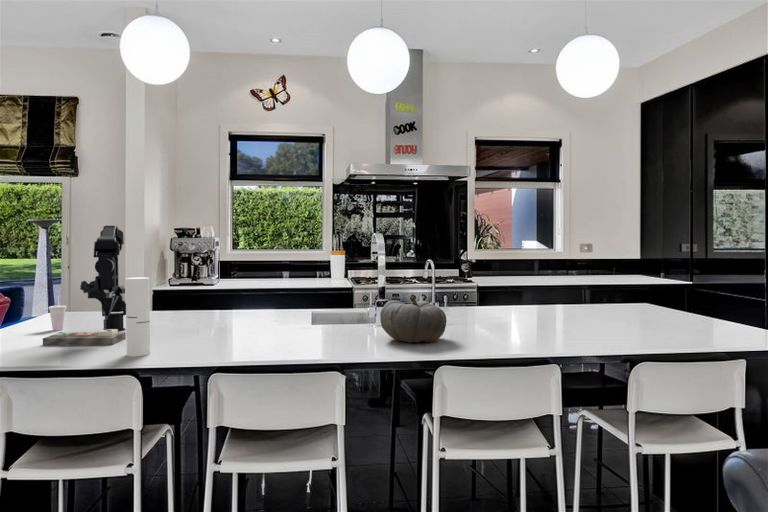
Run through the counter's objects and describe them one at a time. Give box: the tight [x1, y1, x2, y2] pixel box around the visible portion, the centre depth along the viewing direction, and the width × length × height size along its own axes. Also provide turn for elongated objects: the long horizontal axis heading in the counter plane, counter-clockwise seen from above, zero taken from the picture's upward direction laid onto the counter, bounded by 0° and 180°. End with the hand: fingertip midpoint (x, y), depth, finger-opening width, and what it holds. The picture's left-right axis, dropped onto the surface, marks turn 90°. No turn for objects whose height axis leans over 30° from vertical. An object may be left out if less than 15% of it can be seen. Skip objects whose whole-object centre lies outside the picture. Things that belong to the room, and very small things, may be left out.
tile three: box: [97, 328, 119, 336], centre depth 211 cm, size 5×5×3 cm
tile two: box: [51, 331, 74, 337], centre depth 210 cm, size 5×5×3 cm
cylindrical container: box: [125, 276, 151, 358], centre depth 189 cm, size 7×7×25 cm
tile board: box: [42, 331, 127, 347], centre depth 210 cm, size 24×12×2 cm, turn 94°
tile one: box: [75, 331, 95, 337], centre depth 210 cm, size 5×5×3 cm
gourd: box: [379, 295, 447, 343], centre depth 216 cm, size 25×25×17 cm
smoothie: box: [48, 295, 67, 332], centre depth 237 cm, size 6×6×14 cm
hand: (107, 315), depth 211 cm, fingers closed
